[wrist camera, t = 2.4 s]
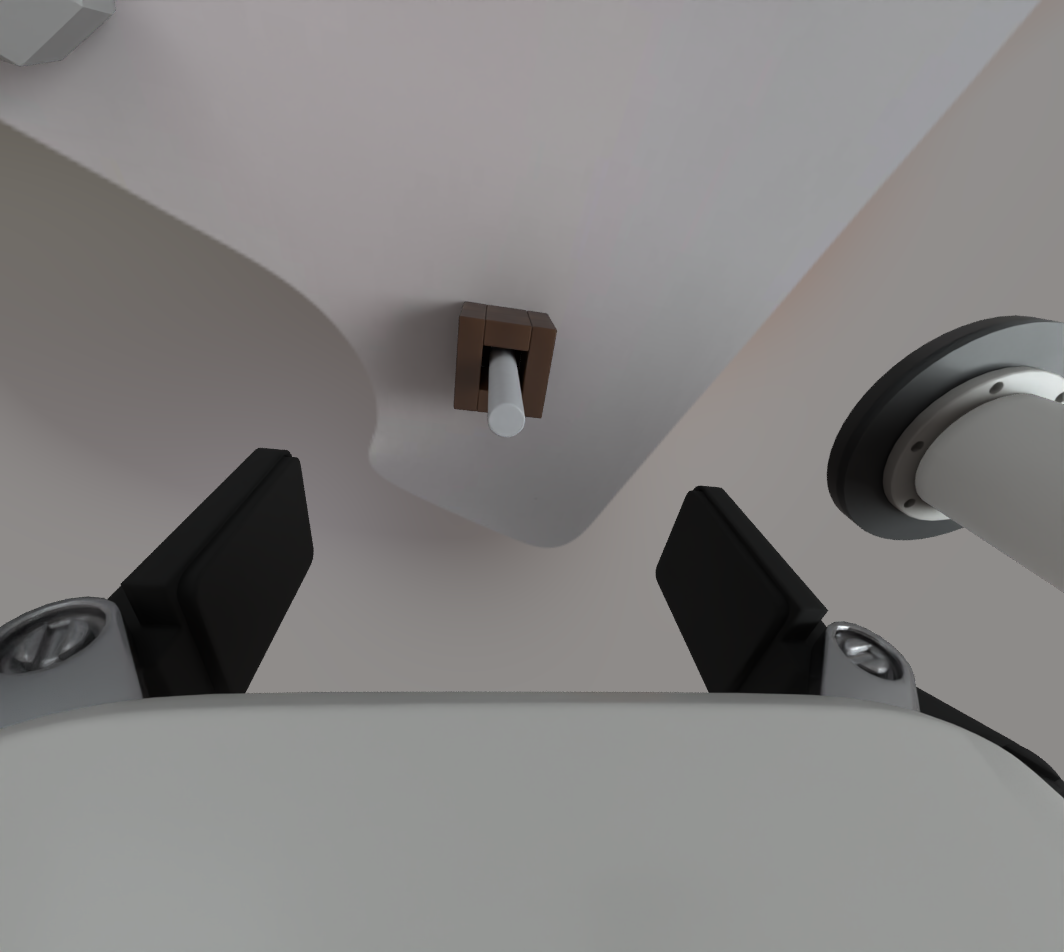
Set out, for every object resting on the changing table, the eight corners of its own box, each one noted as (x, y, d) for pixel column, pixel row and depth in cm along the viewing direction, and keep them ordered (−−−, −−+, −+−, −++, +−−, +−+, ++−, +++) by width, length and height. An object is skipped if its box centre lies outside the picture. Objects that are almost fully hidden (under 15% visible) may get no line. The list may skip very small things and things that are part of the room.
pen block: (548, 313, 23) (557, 329, 20) (535, 392, 25) (541, 418, 22) (464, 301, 22) (458, 315, 19) (459, 383, 25) (453, 409, 21)
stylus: (515, 338, 24) (527, 405, 15) (512, 363, 24) (522, 439, 16) (491, 335, 23) (489, 401, 15) (488, 360, 24) (485, 436, 16)
